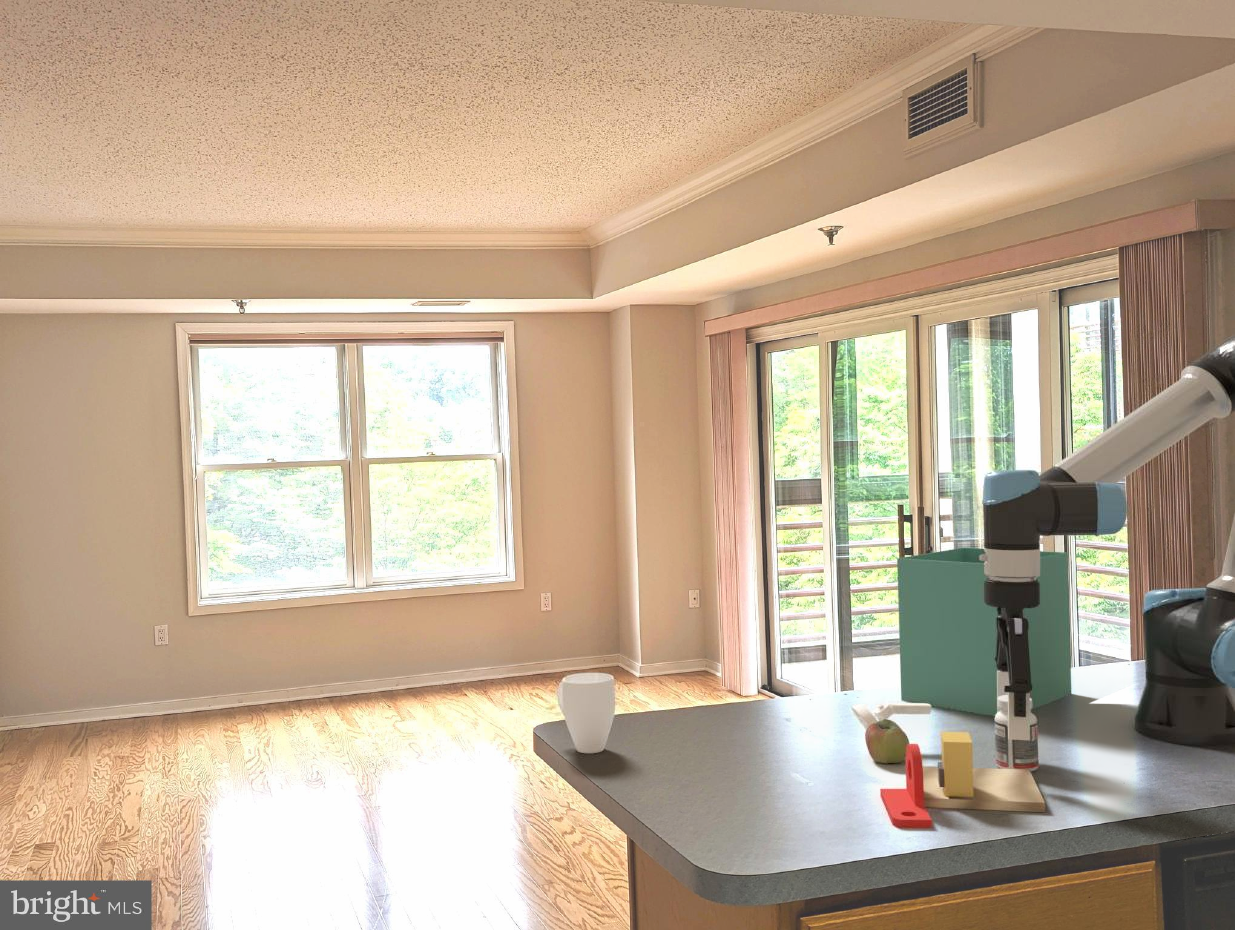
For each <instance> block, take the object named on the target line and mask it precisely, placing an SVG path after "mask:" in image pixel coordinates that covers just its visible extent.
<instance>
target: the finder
mask: <svg viewBox="0 0 1235 930" xmlns="http://www.w3.org/2000/svg"><path fill="white" fill-rule="evenodd" d="M940 740H941V741H940V743H941V744H940V745H941V746H940V747H941V749H940V750H941V761H937V767H938V782H939V787H943V789H944V793H945V796H959V797H974V792H973V768H974V767H973V766H974V763H973V760H974V759H973V741H972V739H971V736H970V733H969V732H967V731H965V732H964V731H959V732H958V731H940Z"/></svg>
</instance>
